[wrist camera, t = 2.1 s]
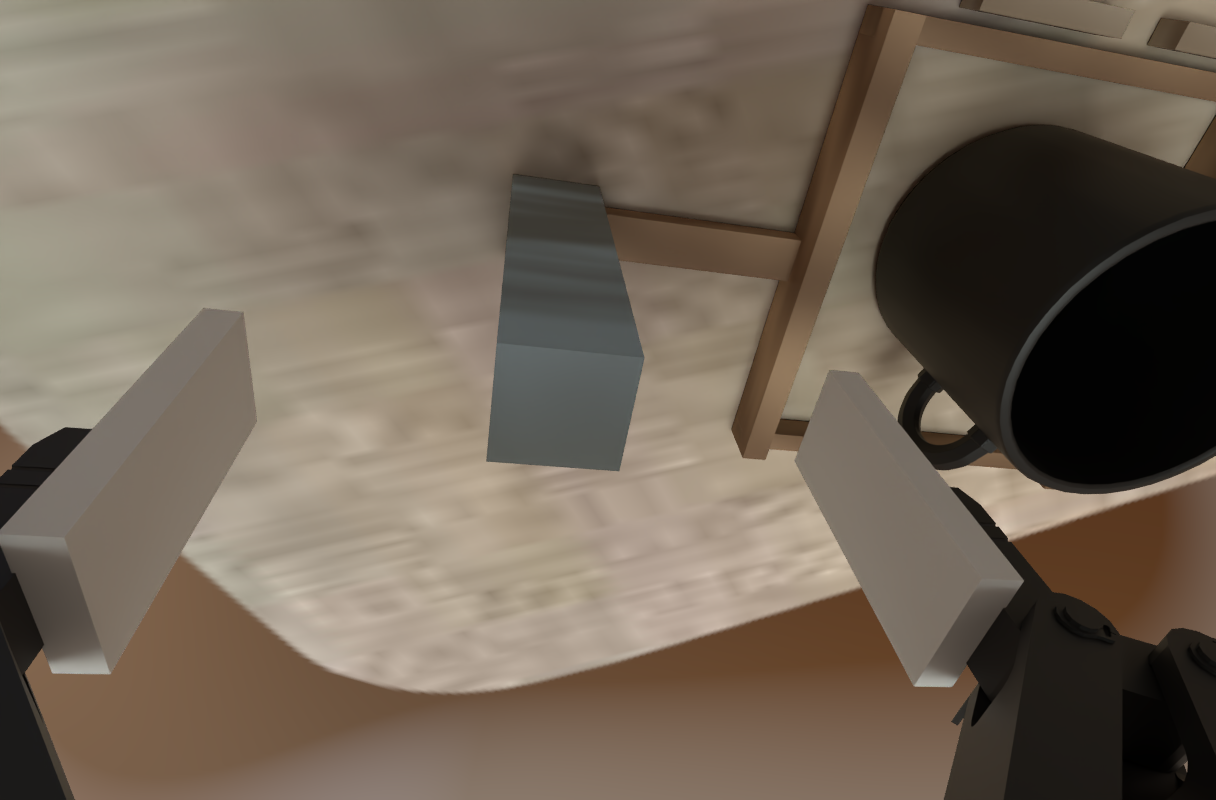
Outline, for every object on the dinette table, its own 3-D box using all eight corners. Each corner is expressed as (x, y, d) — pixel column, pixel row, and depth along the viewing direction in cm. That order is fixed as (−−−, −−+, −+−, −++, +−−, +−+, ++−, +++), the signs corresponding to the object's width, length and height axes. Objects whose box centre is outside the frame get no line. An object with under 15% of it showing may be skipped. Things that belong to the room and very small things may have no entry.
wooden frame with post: (534, -62, 20) (533, -66, 10) (1262, 82, 24) (1773, 181, 14) (492, 409, 29) (469, 655, 19) (1030, 455, 33) (1244, 677, 23)
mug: (778, 336, 28) (866, 479, 21) (1014, 65, 23) (1244, 124, 16) (929, 430, 32) (1052, 582, 24) (1163, 212, 27) (1409, 319, 19)
